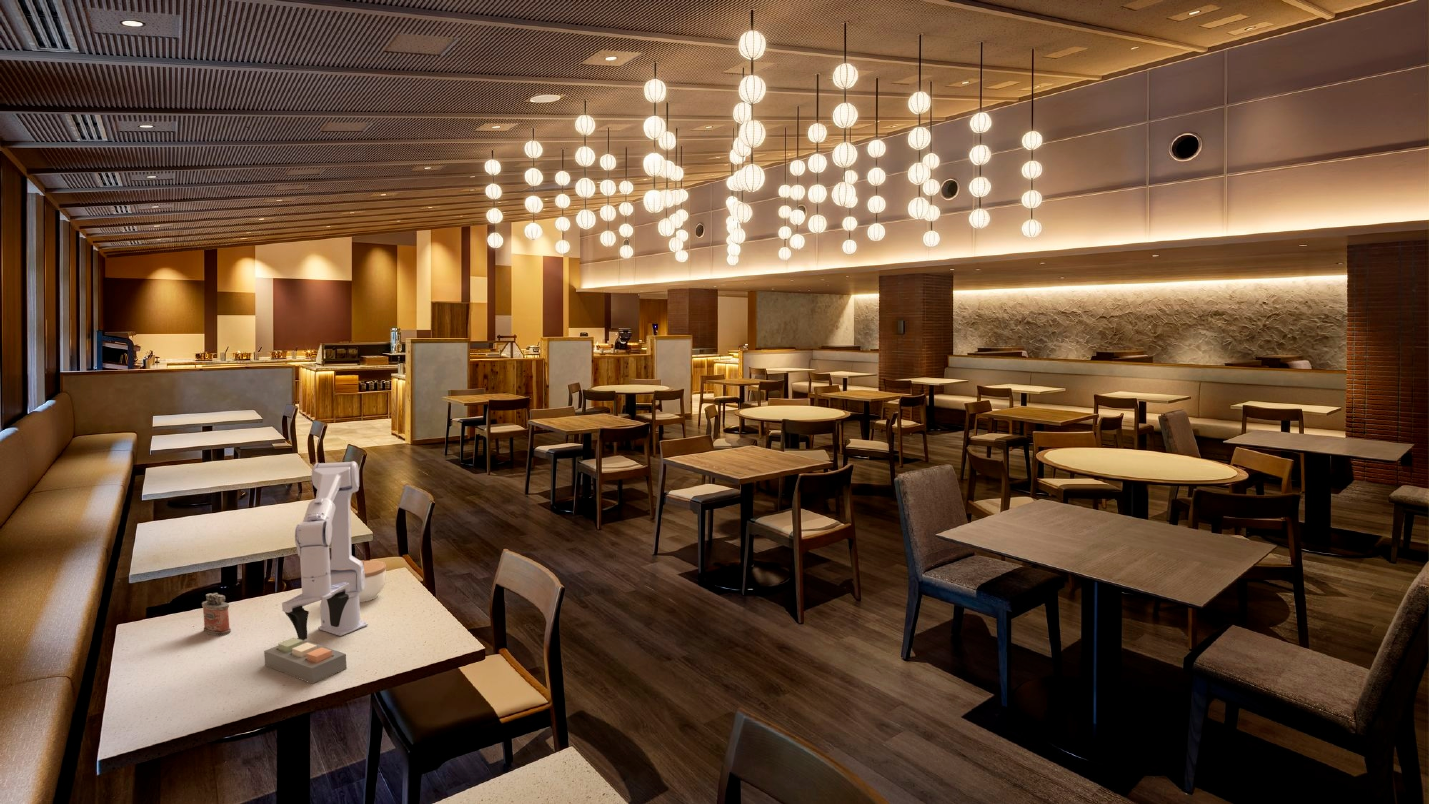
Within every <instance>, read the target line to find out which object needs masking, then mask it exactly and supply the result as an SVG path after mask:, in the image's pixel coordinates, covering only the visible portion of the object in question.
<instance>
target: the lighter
mask: <svg viewBox="0 0 1429 804" xmlns="http://www.w3.org/2000/svg"><path fill="white" fill-rule="evenodd" d="M205 598H206V600H205V601H202V602H201V606H202V609H203V611H202V612H203V625H204V627H203V632H204V633H206V634H210V635H213V636H220V637H222V636H226V635H229V634H231V628H230V619H229V618H230V617H229V608H230V604H229V603H228V602H225V601H226V596H225V595H223V594H219V593H218V592H213V593H207V594H205Z"/></svg>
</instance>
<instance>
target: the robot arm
mask: <svg viewBox="0 0 1429 804" xmlns="http://www.w3.org/2000/svg"><path fill="white" fill-rule="evenodd" d="M311 481H312V483H311V484H312V486H314V488H315V489H316V490H317V491H316V494H315V495H316V496H315V498H314V499H312V500H311V501H310V502H309V503H308V505H307V508H306V511H305V514H304V516H303V520H302V521H301V522H300V524H296V527H295V530H294V531H295V532H294V542H295V547H296V550H297V556H298V557H299V559H300V561H299V562H300V574H301V575H300V577H301V578H300V579H301V581H300V582H301V593H300V594H297V595H296V596H294V597H292V598H290V599H289V600H286V601H284V602H281V607H282V612H284V613H285V615H286V617H288V619H289V620H290V622H291V623H292V625H293V627H294V629H295V632H296V634H297V638H299V639H302V640H307V639H308V617H309V613H310V611H309V610H305V608H304V607H305V606H308V605H312V604H314V603H317V602H319V601H320V603H319V606H320V608H319V609H320V626H318V627H317V629H318V630H321V631H324V632H327V633H330V634H332V635H337V636H339V637H343V636H344V635H345V636H346V634H349V633H352V632H354V631H357V630H359V629H361V628H364V627H367V626H368V625H369V623H368V622H366V621H362V620H361V609H360V606H361V605H360V602H359V593H360V592H362V591H363V590H364V587H365V572H364V565H363V562H361V559H358V558H357V557H355V556H353V555H352V515H351V514H352V510H351V506H352V505H351V501H352V500H351V499H352V495H353V493H357V492H358V491H359V487H360V469H359V464H358V463H357V462H356V461H354V460H352V461H344V462H343V461H342V462H339V461H338V462H325V463H324V462H321V463H320V462H315V464H314V465H313V466H312V469H311ZM330 546H331V550H330ZM330 551H331V558H330ZM340 569H347V570H340Z"/></svg>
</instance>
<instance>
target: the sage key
mask: <svg viewBox="0 0 1429 804" xmlns="http://www.w3.org/2000/svg"><path fill="white" fill-rule="evenodd" d="M302 644H303V641H302V640H299V639H297V638H295V637H291V638H288V639H287V640H284V641H281V642H278V643H277V646H278V650H279V651H282V652H285V653H289V652H291V651H292V648H294V647H297V646H299V645H302Z"/></svg>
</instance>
